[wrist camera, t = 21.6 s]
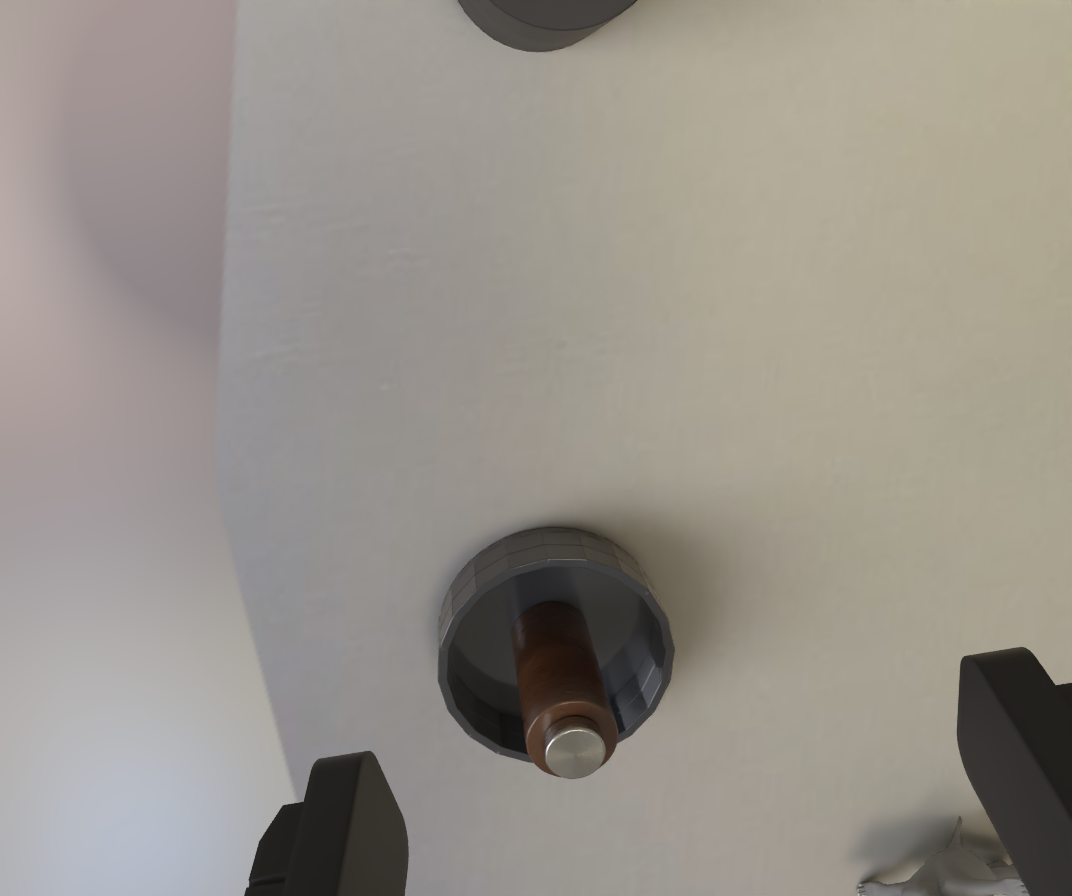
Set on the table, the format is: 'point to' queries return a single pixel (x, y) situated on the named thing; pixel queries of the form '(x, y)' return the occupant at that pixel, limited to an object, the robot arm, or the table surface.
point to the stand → (542, 20)
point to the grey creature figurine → (954, 876)
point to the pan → (536, 577)
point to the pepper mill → (562, 692)
